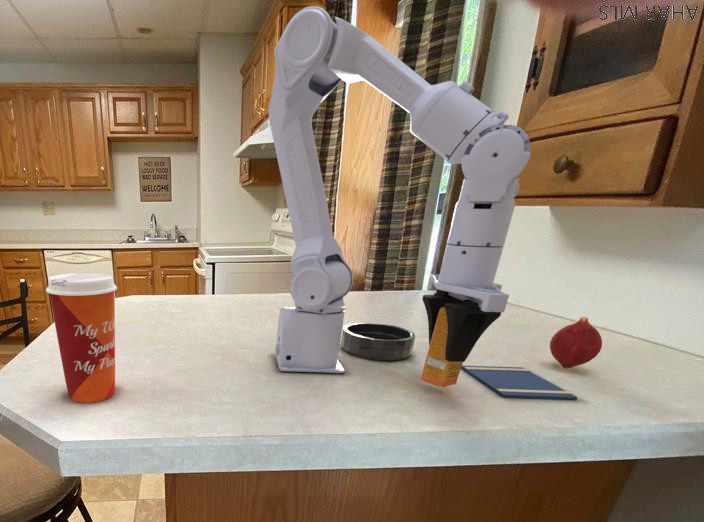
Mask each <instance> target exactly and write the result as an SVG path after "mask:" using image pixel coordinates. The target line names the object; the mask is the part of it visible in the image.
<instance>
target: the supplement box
mask: <svg viewBox="0 0 704 522" xmlns="http://www.w3.org/2000/svg"><path fill="white" fill-rule="evenodd" d="M447 334H448V323H447V315H446V311H445V308H444V307H442V308H441V309H440V310H439V314H438V317H437V321H436V324H435V328H434V332H433V335H432V339H431V342H430V346H429V345H428V350H427V354H426V357H425V360H424V365H423V368H422V372H421V374H420V375H421V376H420V379H421V381H422V382H425V383H427V384H430V385H432V386H436V387H438V388H446V387H450V386H454V385H456V384H457V383H458V379H459V376H460V374H461V370H462V369H461V367H462V366H463V364H464V362H453V361H447V360H446V359H445V349H446V342H447Z"/></svg>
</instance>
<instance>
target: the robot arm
mask: <svg viewBox="0 0 704 522" xmlns="http://www.w3.org/2000/svg"><path fill="white" fill-rule="evenodd" d="M334 20H335V22H334ZM334 20H333V19H332V18H331V16H330V14H329V13H328V12H327V11H326V10H325V9H324V8H323V7H320V6H316V5H311V6H306V7H303V8H302V9H301V10H299V11H297V12H296V13H295V14H294V15H293V16H292V18H290V20H289V22H288V23H287V25H286V27H285V28H284V30H283V32H282V34H281V36H280V38H279V40H278V42H277V43H276V46H275V48H274V51H273V53H274V61H275V73H274V78H273V83H272V84H273V85H272V88H271V89H272V90H271V94H270V95H271V96H270V101H269V107H268V121H269V126H270V130H271V135H272V141H273V144H274V145H273V146H274V149H275V154H276V159H277V163H278V167H279V168H278V169H279V172H280V173H279V174H280V179H281V182H282V187H283V192H284V197H285V201H286V207H287V210H288V215H289V220H290V225H291V230H292V235H293V239H294V244H295V248H294V251H293V254H292V256H291V259H290V266H291V272H292V274H291V278H290V279H291V281H290V284H289V291H290V295H291V298H292V300H293V302H294V306H290V307H281V308H280V310H279V314H278V320H277V329H276V330H277V333H276V342H275V351H274V356H275V357H274V358H275V359H276V364H277V366H278V370H279V371H281V372H295V373H296V372H300V373H328V374H329V373H331V374H344V373H345V371H346V370H345V367H344V366H343V365H342V364H341V362H340V361H339V353H340V347H341V341H342V334H343V327H344V326H343V325H344V320H345V319H344V318H345V312H346V304H345V302H344V297H346V296H347V295H348V294H349V293H350V291H351V289H352V287H353V284H354V273H353V270H352V268H351V267H350V265H349V264H348V263H347V262H346V260H345V259H344V255H343V251H342V248H341V246H340V244H339V242H338V241H337V239H336V238H335V236H334V233H333V232H334V231H333V228H332V227H333V226H332V222H331V217H330V211H329V207H328V201H327V197H326V192H325V185H324V181H323V175H322V171H321V165H320V160H319V155H318V151H317V145H316V140H315V135H314V130H313V125H312V118H313V116H314V115H315V112H317V109H318V108H319V107H320V105H321V103H322V102H323V101H324V100H325V99H326V98H327V97H328V96H329V95H330V94H331V93H332V92H333V91H334V90H335V89H336V88H337V87H338V86H339V85H340V84H341V83H342V82H343V81H344V82H345V83H347V84H352V83H357V82H360V81H364V82H366V83H367V84H368V85H370V86H372V87H373V88H374V89H376V90H377V91H378V92H380V93H381V94H383V95H384V96H386V97H387V98H388V99H389V100H391V101H392V102H394V103H395V104H396V105H397V106H399V107H401V108H402V109H404V110H405V111H406V112H407V113H409V117H410V120H409V121H410V122H409V123H410V124H409V131H410V133H411V134H412V135H413V136H414V137H416V138H417V139H418V140H420V142H422V143H423V144H425V145H426V146H427V147H428V148H429V149H431V150H432V151H434V153H436V154H437V155H439V156H440V157H441V158H442V159H444V160H445V161H446V162H448V163H449V164H450V165H454V166H455V165H461V170H462V173H463V175H464V177H465V179H463V182H462V186H461V190H460V194H459V197H458V198H459V199H458V201H457V202H456V203H455V206H454V210H453V214H452V220H451V224H450V228H449V232H448V237H447V240H446V245H445V250H444V253H443V257H442V263H441V266H440V272H439V274H434V273H433V274H432V273H431V274H429V278H428V283H427V286H426V288H427V289H428V290H433V291H434V290H436V291H435V292H434V293H433V294H423V295H422V303H423V305H424V307H425V311H426V316H427V324H428V325H427V326H428V347H429V346H430V342H431V339H432V335H433V332H434V328H435V324H436V321H437V317H438V314H439V310H440V309H441V308H442V307H444V308H445V311H446V315H447V323H448V334H447V342H446V349H445V359H446V360H447V361H453V362H463V363H465V362H466V360H467V359H468V358H469V356H470V354H471V352H472V350H473V349H474V347H475V346H476V344H477V342H478V341H479V339H480V338H481V337H482V336H483V334H484V333H485V332H486V330H488V328H489V327H490V326H491V325H492V324H493V323H495V322H496V321H497V320H498V319H499V317H501V315H502V313H505V311H506V307H507V304H508V300H509V297H510V294H509V293H506V292H503V291H502V289H503V284H502V283H501V284H500V283H497V282H495V279H496V274H497V271H498V268H499V264H500V262H501V261H500V260H501V257H502V253H503V250H504V247H505V243H506V240H507V236H508V232H509V229H510V226H511V222H512V219H513V215H514V211H515V207H516V202H515V200H514V199H515V198H516V196H517V195H518V194H519V189H520V181H519V180H520V177H518V176H519V175H520V174H521V173H522V172H523V170H524V169H525V168H526V166H527V164H528V163H529V161H530V159H531V156H532V153H531V140H530V137H529V135H528V133H526V131H525V130H524V129H523V128H521V127H519V126H518V125H514V124H505V123H506V121H508V119H509V118H510V115H509V113H507V112H505V110H503V109H502V110H500V111H499V112H498V113H497V112H496V111H494V110H493V109H492V108H490V107H489V106H487V105H486V104H485V103H484V102H482V101H481V100H479V99H478V98H477V97H475V96H474V95H472V94H473V93H474V92H475V88H474V86H473V85H472V84H471V83H470V82H468V81H467V80H464V81H462V83H460V85H459V84H457V83H456V82H455V81H453V80H448V81H445V82H441V83H438V84H437V83H436V84H430V83H429V82H428V81H426V80H425V79H424V78H423V77H422V76H420V75H419V74H418V73H417V72H416V71H414V70H413V69H412V68H411V67H409V66H408V65H407V64H406V63H404V62H403V60H401V59H400V58H398V57H397V56H396V55H395V54H394V53H392V52H391V51H390V50H388V48H386V47H385V46H384V45H383V44H381V43H380V42H379V41H378V40H376V39H375V38H374V37H373V36H371V35H370V34H369V33H366V31H363V30H362V29H360V28H358V27H357V26H355V25H353V24H352V23H350V22H348V21H347V20H345V19H342V18H340V17H338V16H334Z"/></svg>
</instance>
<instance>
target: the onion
mask: <svg viewBox="0 0 704 522" xmlns="http://www.w3.org/2000/svg"><path fill="white" fill-rule="evenodd" d="M602 347H603V340H602V336H601V334H600V331H598V329H596V328H595V326H593V325H592V324H591V322H590V321H589V318H588V317H587V316H581V317H580V318H579V320H578V321H576V322H574V323H571V324H569V325H566V326H564V327H562V328H560V329H559V330H558V331H556V332H555V333H554V335H553V336H552V337H551V339H550V341H549V350H550V354H551V356H552V357H553V359H555V361H557V362H558V363H559V364H560V365H561V367H563V368H564V369H571V368H574V367H579V366H582V365H584V364H587V363H589V362H591V361H592V360H593V359H595V358H596V357H598V355H599V354H600V352H601V350H602Z"/></svg>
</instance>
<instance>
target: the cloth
mask: <svg viewBox="0 0 704 522" xmlns="http://www.w3.org/2000/svg"><path fill="white" fill-rule="evenodd" d="M461 370H463V371H464V372H466V373H467V374H469V375H470V376H472V377H473V378H474V379H475V380H477V381H479V382H480V383H482V384H483V385H485V386H486V387H487V388H489V389H490V390H492V391H493V392H494V393H496V394H497V395H499V396H501V397H502V398H511V399H512V398H513V399H515V398H516V399H539V400H540V399H542V400H546V399H547V400H568V401H570V400H572V401H576V400H577V399H578V397H577V396H576V395H574V394H573V393H572V392H570V391H569V390H567V391H566V390H565V389H563V388H561V387H559V386H557V385H556V384H554V383H552V382H551V381H549V380H546V379H545V378H543V377H541V376H539V375H537V374H535V373H534V372H532V371H531V370H530V369H529V368H524V367H523V366H522V367H517V366H487V365H486V366H485V365H462V367H461Z"/></svg>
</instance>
